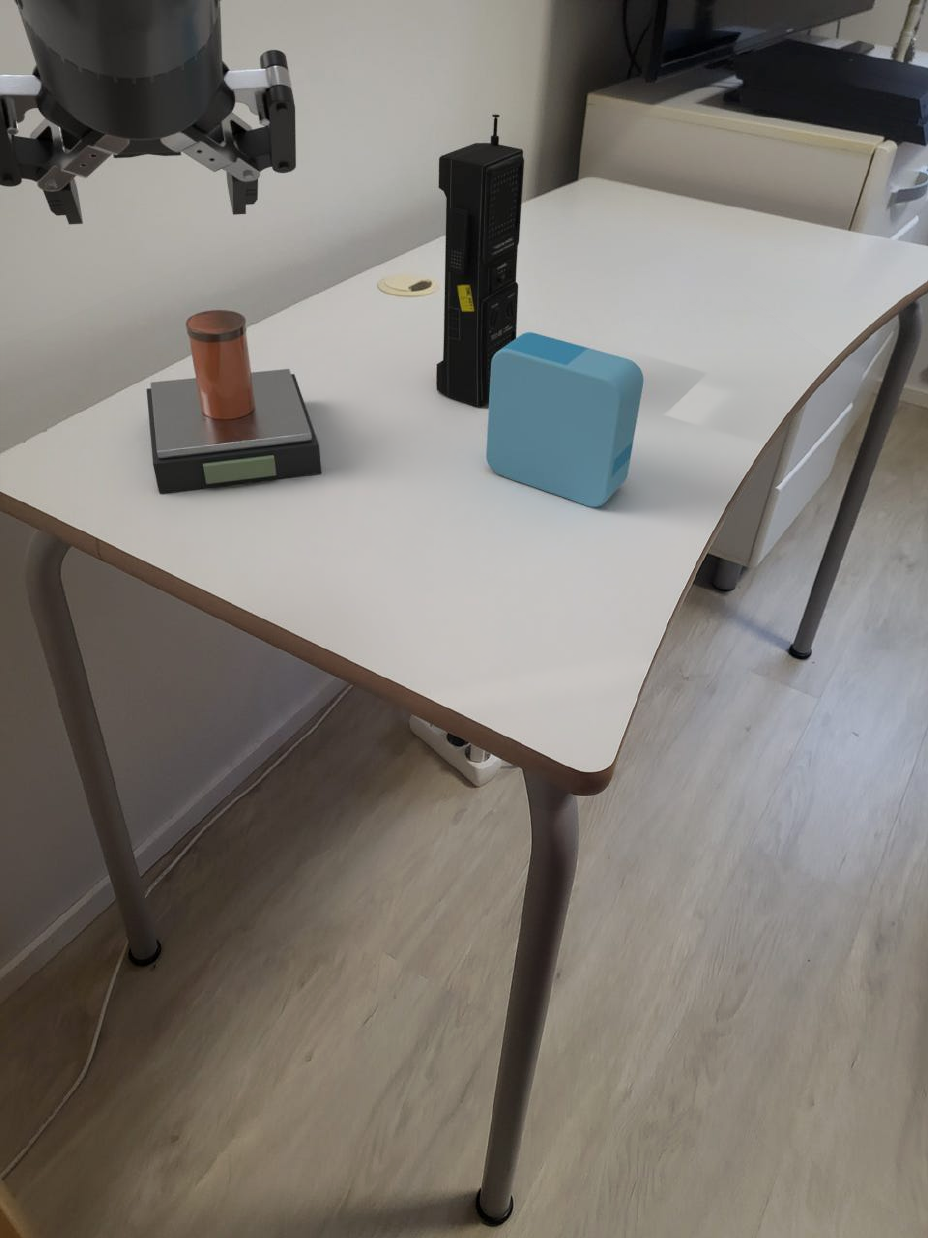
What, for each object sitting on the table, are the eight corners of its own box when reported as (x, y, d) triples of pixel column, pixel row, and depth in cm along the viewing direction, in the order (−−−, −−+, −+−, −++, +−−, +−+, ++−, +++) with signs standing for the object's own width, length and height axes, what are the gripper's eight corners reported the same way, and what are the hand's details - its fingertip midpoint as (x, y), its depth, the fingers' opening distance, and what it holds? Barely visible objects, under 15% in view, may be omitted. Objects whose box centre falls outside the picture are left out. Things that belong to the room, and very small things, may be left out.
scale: (159, 497, 80) (153, 466, 78) (152, 416, 90) (146, 388, 88) (322, 476, 83) (320, 446, 81) (296, 401, 94) (294, 373, 92)
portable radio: (478, 414, 93) (491, 138, 77) (428, 397, 95) (430, 126, 79) (518, 385, 98) (539, 121, 82) (470, 369, 100) (480, 110, 84)
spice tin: (202, 423, 82) (187, 336, 77) (197, 396, 86) (183, 312, 81) (259, 416, 83) (249, 330, 78) (252, 391, 87) (242, 307, 82)
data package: (626, 489, 83) (647, 362, 75) (604, 513, 80) (624, 384, 72) (508, 450, 88) (517, 326, 80) (484, 471, 85) (490, 345, 77)
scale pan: (158, 459, 79) (156, 451, 78) (151, 389, 88) (150, 382, 88) (312, 441, 82) (311, 433, 81) (289, 375, 91) (289, 368, 91)
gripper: (289, -112, 37) (276, 132, 53) (-108, -122, 34) (4, 142, 49) (322, 68, 37) (298, 260, 52) (-77, 77, 33) (26, 279, 49)
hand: (156, 203), depth 51 cm, fingers open, 8 cm apart
